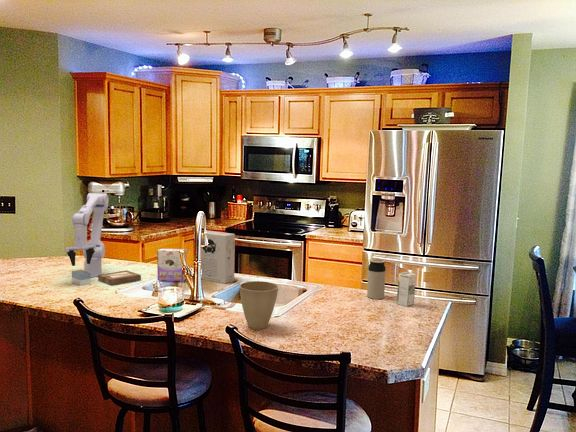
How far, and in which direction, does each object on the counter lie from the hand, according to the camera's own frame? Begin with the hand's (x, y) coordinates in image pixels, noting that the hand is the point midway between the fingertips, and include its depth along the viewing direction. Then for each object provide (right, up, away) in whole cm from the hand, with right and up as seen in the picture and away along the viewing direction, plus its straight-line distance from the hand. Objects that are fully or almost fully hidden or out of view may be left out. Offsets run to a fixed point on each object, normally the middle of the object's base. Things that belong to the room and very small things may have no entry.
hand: (81, 264), depth 252 cm
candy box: (+42, -10, +12) cm, 45 cm away
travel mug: (+144, -15, -9) cm, 145 cm away
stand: (+16, -9, +9) cm, 21 cm away
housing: (0, -10, +1) cm, 10 cm away
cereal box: (+63, -10, +17) cm, 66 cm away
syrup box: (+156, -16, -20) cm, 158 cm away
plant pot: (+91, -19, -55) cm, 108 cm away
